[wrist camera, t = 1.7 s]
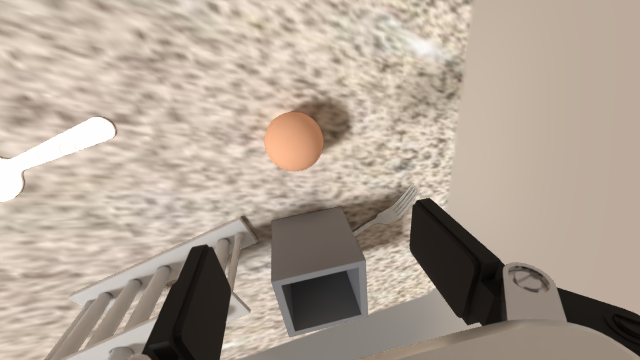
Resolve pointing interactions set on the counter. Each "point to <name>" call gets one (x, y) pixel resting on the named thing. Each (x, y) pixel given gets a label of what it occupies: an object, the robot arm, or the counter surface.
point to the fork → (391, 211)
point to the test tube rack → (144, 297)
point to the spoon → (52, 152)
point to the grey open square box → (317, 271)
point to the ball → (293, 141)
